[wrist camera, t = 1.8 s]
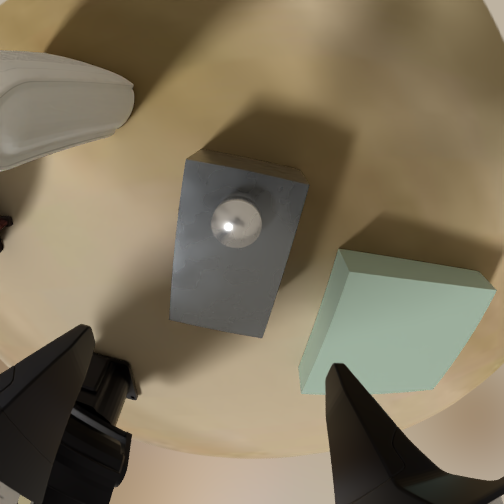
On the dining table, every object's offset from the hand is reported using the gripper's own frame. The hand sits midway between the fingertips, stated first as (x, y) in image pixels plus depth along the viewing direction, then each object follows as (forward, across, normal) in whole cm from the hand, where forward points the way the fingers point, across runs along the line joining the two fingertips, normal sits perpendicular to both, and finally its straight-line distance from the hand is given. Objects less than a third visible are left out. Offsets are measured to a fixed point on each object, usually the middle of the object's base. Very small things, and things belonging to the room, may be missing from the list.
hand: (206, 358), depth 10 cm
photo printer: (+11, +12, -9) cm, 18 cm away
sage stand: (+10, -14, +6) cm, 19 cm away
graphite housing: (+11, 0, 0) cm, 11 cm away
